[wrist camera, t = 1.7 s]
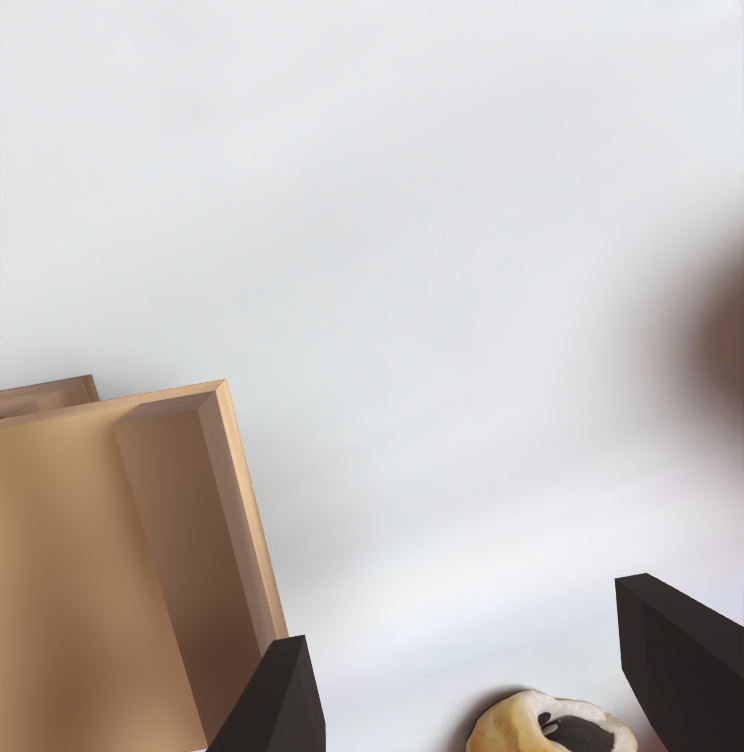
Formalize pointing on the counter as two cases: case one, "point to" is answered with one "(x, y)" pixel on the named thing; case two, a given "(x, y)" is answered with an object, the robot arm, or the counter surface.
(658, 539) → the counter surface
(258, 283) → the counter surface
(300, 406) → the counter surface
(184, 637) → the lid
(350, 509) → the counter surface
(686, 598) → the robot arm
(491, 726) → the pastry
